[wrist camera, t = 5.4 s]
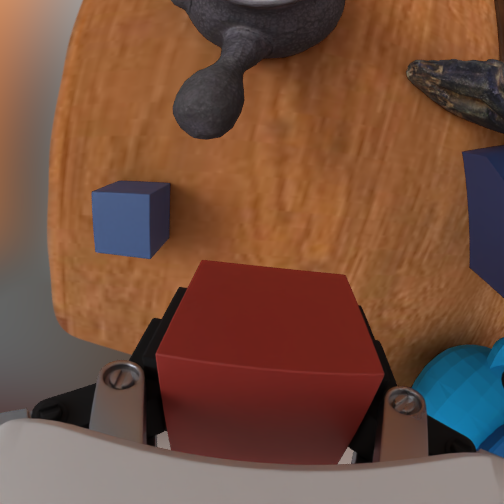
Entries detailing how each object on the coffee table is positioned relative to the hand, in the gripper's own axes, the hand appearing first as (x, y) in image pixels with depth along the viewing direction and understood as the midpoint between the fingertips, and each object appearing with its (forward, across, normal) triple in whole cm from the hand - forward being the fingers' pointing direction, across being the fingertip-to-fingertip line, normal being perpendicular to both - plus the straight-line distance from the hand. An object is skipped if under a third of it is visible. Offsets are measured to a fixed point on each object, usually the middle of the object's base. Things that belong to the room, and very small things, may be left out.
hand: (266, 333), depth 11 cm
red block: (+1, 0, 0) cm, 1 cm away
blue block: (+17, +11, +1) cm, 20 cm away
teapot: (+17, +4, -15) cm, 23 cm away
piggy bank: (+6, -20, +22) cm, 30 cm away
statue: (+17, -16, -13) cm, 27 cm away
